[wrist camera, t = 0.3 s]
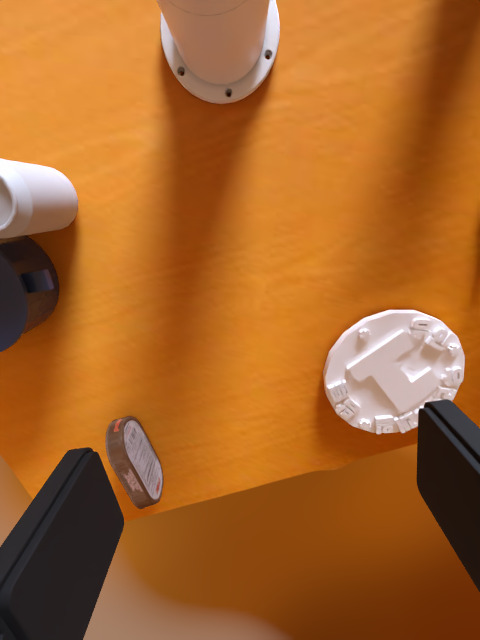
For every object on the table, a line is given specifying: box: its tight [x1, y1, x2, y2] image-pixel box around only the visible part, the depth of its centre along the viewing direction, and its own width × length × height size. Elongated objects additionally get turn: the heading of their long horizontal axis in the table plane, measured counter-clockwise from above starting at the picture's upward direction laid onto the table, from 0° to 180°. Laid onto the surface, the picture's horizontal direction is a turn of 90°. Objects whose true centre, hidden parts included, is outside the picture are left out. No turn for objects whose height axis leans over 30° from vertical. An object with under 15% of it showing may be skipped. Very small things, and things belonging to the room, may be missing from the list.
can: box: [0, 159, 78, 239], centre depth 36 cm, size 8×8×12 cm
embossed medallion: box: [323, 310, 465, 434], centre depth 48 cm, size 20×20×3 cm
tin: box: [106, 416, 163, 509], centre depth 51 cm, size 15×3×8 cm, turn 18°
